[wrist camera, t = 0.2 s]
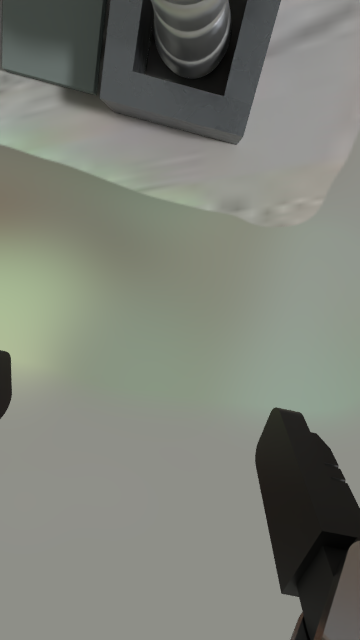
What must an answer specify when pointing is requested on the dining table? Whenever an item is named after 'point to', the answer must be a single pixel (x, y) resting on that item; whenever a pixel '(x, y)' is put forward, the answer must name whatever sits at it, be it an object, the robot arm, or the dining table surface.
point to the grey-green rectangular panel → (54, 41)
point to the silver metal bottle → (192, 34)
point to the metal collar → (175, 99)
